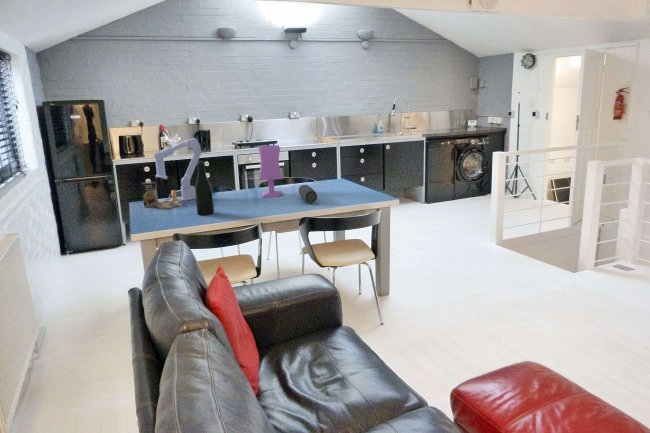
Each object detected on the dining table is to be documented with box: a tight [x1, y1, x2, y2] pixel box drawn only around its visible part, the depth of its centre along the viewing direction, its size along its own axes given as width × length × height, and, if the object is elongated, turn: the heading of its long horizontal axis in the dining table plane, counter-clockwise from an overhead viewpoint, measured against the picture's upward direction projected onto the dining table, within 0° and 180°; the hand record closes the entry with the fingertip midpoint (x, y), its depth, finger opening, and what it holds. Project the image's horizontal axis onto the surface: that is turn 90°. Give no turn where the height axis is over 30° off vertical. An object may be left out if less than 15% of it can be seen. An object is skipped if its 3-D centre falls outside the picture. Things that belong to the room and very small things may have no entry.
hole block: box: [156, 198, 184, 210], centre depth 318 cm, size 14×10×3 cm
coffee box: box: [140, 181, 159, 208], centre depth 319 cm, size 9×6×16 cm
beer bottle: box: [194, 160, 215, 216], centre depth 289 cm, size 10×10×33 cm
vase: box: [257, 144, 283, 198], centre depth 337 cm, size 16×16×35 cm
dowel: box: [170, 189, 178, 202], centre depth 319 cm, size 3×3×10 cm
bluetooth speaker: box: [297, 184, 318, 204], centre depth 317 cm, size 23×9×10 cm, turn 14°
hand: (163, 188), depth 331 cm, fingers open, 7 cm apart
